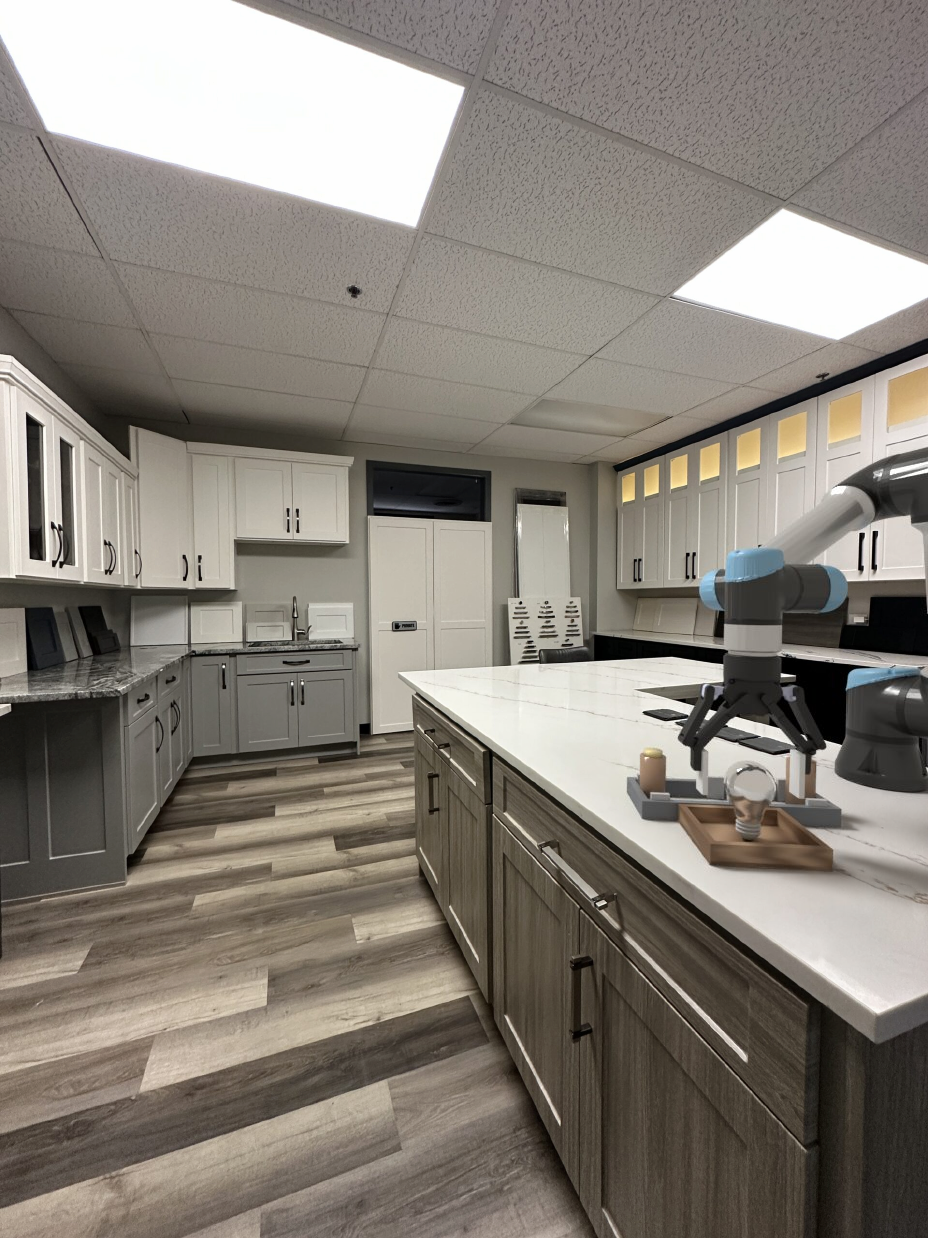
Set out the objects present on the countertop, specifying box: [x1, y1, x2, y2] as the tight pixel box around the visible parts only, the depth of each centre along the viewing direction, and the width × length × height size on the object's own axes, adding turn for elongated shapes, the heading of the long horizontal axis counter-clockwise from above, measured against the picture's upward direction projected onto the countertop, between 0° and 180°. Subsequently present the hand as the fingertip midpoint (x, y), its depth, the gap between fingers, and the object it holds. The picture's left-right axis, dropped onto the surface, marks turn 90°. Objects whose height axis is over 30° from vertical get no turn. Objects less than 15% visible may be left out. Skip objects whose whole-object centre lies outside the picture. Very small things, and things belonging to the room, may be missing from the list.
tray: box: [677, 804, 834, 872], centre depth 77 cm, size 16×14×3 cm
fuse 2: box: [784, 756, 817, 805], centre depth 89 cm, size 4×4×10 cm
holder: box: [626, 772, 843, 828], centre depth 90 cm, size 31×12×4 cm, turn 84°
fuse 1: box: [639, 747, 667, 799], centre depth 91 cm, size 4×4×10 cm
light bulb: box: [723, 760, 777, 841], centre depth 77 cm, size 7×7×12 cm
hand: (748, 793), depth 77 cm, fingers open, 13 cm apart
